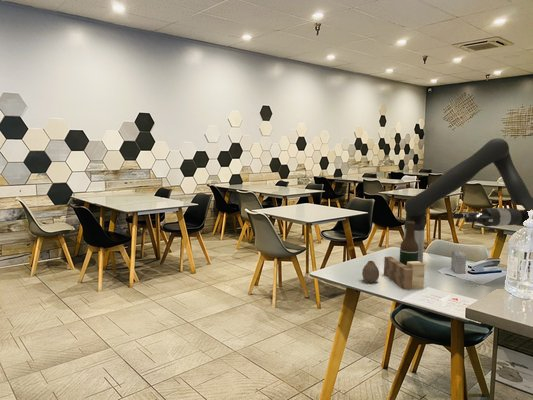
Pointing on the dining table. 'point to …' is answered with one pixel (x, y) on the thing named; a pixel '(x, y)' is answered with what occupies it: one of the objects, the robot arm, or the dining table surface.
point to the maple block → (417, 274)
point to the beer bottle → (409, 245)
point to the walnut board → (398, 272)
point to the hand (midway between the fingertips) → (458, 217)
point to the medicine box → (458, 262)
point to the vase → (370, 272)
